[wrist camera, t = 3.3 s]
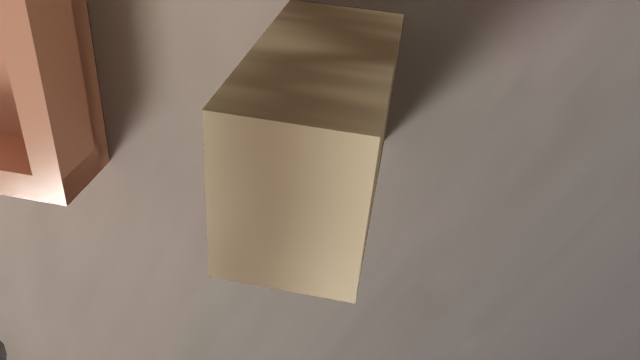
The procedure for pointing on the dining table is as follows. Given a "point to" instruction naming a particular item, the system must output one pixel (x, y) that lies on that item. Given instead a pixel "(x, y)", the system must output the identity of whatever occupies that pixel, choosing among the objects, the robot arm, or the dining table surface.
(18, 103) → the tray
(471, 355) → the dining table surface
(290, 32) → the beige tall rectangular block
